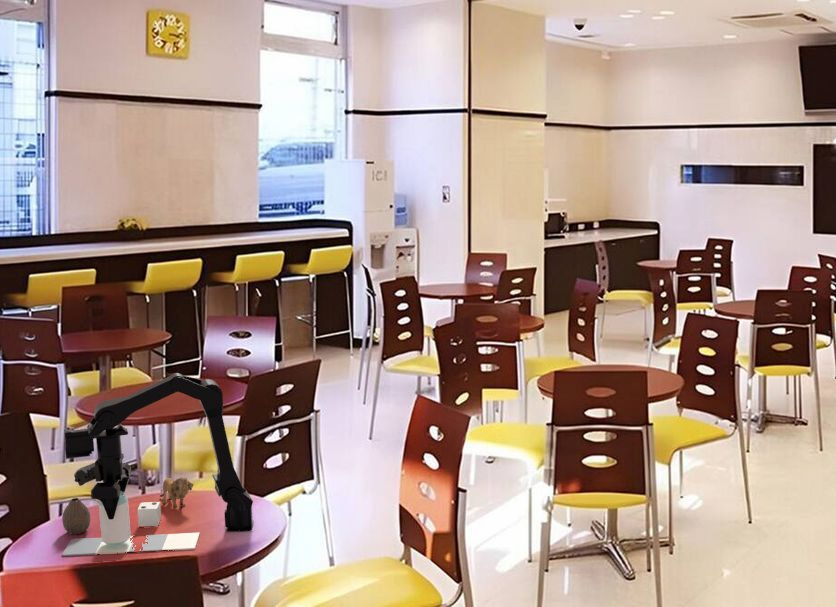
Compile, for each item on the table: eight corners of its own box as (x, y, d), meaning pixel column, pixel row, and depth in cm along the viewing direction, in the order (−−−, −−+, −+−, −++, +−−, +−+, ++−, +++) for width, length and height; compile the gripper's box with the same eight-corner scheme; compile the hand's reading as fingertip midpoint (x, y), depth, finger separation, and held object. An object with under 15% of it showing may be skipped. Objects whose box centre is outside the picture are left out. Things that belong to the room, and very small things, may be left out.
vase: (83, 524, 272) (81, 492, 271) (96, 531, 268) (93, 499, 266) (58, 532, 268) (56, 499, 266) (71, 539, 263) (68, 506, 261)
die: (161, 519, 275) (160, 501, 274) (158, 526, 270) (157, 507, 269) (142, 520, 274) (140, 502, 273) (138, 527, 269) (137, 508, 269)
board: (199, 533, 264) (199, 532, 264) (194, 549, 255) (194, 547, 254) (71, 540, 262) (71, 539, 262) (61, 556, 252) (61, 554, 252)
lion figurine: (197, 508, 283) (195, 476, 281) (180, 513, 279) (178, 481, 278) (167, 495, 293) (166, 465, 292) (151, 500, 289) (149, 470, 288)
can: (104, 548, 253) (100, 501, 251) (99, 538, 259) (95, 492, 257) (133, 542, 256) (129, 496, 254) (128, 533, 262) (124, 487, 260)
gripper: (84, 443, 262) (89, 502, 265) (66, 467, 244) (71, 529, 247) (129, 441, 263) (133, 499, 266) (114, 464, 245) (119, 527, 248)
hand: (114, 513), depth 256 cm, fingers closed on can, 7 cm apart
